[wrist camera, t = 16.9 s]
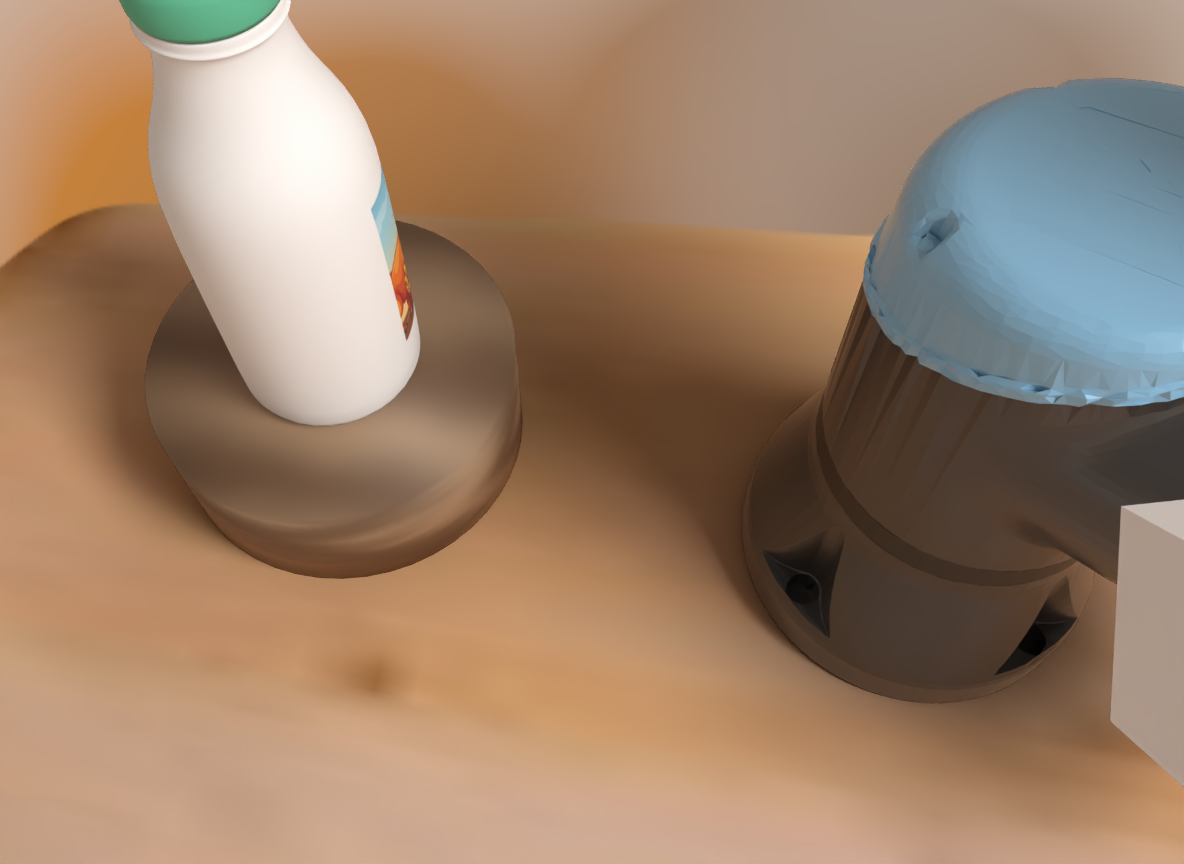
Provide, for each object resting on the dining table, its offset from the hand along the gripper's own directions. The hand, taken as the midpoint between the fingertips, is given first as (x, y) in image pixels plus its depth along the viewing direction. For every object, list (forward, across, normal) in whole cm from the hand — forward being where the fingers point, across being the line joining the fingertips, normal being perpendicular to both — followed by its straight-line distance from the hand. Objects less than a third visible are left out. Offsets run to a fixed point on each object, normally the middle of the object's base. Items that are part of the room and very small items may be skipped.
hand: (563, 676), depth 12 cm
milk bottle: (+36, -8, -2) cm, 37 cm away
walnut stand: (+40, -8, -6) cm, 41 cm away
